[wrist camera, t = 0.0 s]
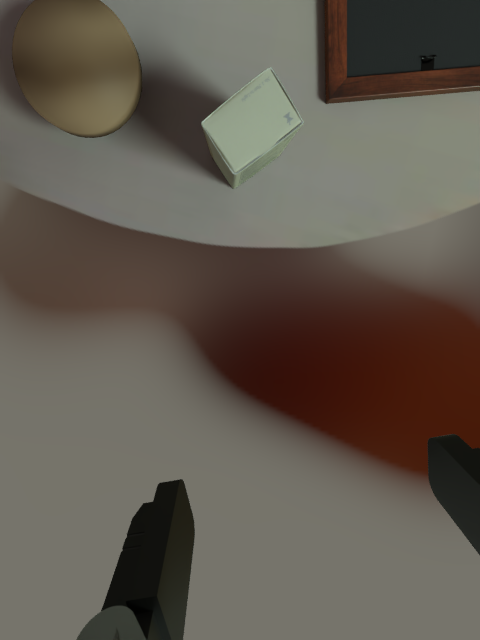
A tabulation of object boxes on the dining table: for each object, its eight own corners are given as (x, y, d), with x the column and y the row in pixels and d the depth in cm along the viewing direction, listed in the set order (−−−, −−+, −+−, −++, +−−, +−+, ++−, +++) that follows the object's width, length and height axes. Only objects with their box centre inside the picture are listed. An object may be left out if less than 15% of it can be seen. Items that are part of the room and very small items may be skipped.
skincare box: (258, 117, 34) (273, 59, 22) (281, 156, 35) (307, 121, 23) (208, 156, 35) (197, 119, 23) (232, 193, 36) (234, 176, 24)
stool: (36, 43, 32) (-7, 3, 26) (138, 23, 32) (118, -22, 26) (68, 157, 35) (36, 142, 29) (163, 139, 34) (150, 121, 29)
